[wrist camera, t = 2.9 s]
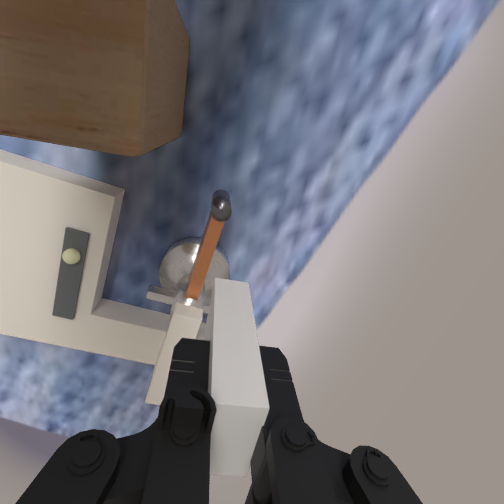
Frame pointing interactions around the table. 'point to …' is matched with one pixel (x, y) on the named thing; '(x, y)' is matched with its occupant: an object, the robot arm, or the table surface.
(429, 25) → the table surface
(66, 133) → the wooden block
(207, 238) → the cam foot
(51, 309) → the stand
